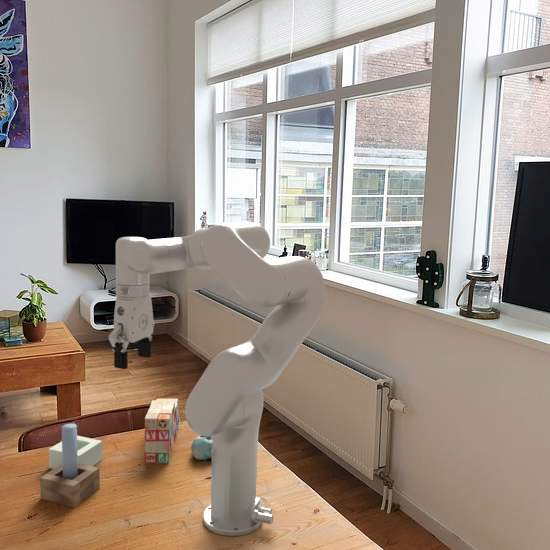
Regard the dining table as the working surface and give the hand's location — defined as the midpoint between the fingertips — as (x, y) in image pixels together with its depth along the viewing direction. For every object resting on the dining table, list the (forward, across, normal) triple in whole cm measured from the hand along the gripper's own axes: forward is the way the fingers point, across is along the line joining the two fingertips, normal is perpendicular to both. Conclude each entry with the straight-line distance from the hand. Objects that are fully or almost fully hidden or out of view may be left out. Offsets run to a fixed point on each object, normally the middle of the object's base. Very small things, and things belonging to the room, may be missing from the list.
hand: (133, 362), depth 140 cm
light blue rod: (+28, -13, +8) cm, 32 cm away
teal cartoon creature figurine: (+29, +18, -12) cm, 36 cm away
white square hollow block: (+28, -1, +16) cm, 33 cm away
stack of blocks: (+29, +17, +2) cm, 33 cm away
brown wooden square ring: (+28, -13, +8) cm, 32 cm away
